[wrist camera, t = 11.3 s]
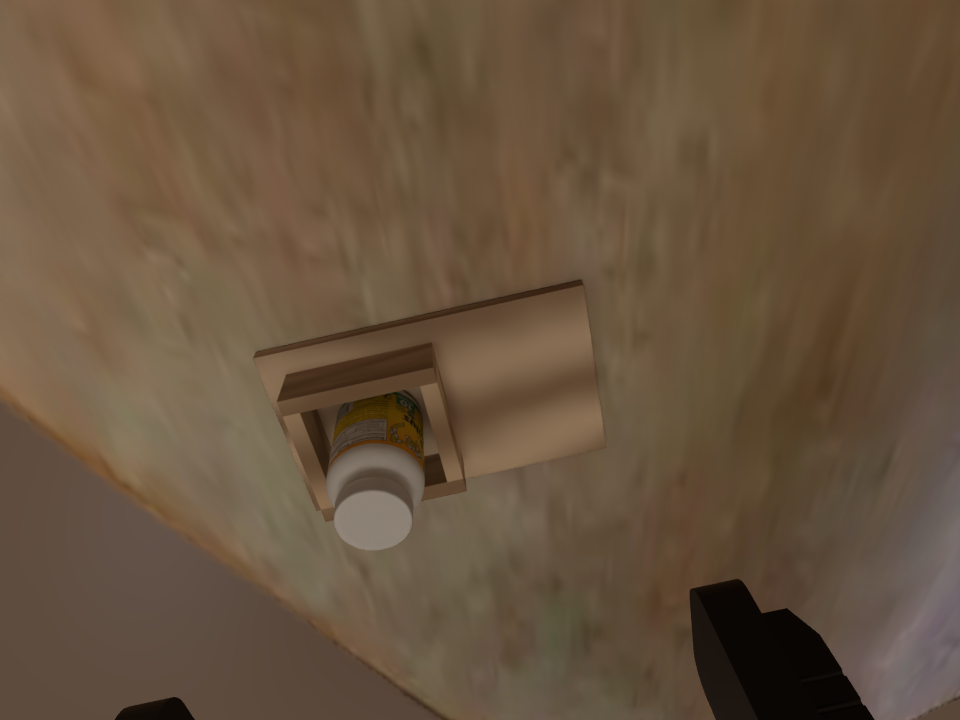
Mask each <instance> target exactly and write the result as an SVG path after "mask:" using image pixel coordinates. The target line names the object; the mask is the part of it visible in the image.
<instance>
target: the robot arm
mask: <svg viewBox="0 0 960 720" xmlns="http://www.w3.org/2000/svg"><path fill="white" fill-rule="evenodd" d="M690 608H691V622H692V635H693V649H694V657H695V662H696V666H697V670H698V674H699V677H700V681H701V684H702V687H703V689H704V692H705V695H706V697H707V700H708V702H709V704H710V707H711V709H712V712H713V714H714V716H715V719H716V720H874V718H873V717H872V715H871V714H870V712H869V710H868V709H867V707H866V706H865V705H863V704H862V702H861V699H860V696H859V695H858V693H857V692H856V690H855V689H854V687H853V686H852V684H851V683H850V681H849V679H848V678H847V676H844V674H843V672H842V669H841V667H840V665H839V664H838V662H837V661H836V659H835V658H834V656H833V655H832V653H831V651H830V650H829V648H828V647H827V645H826V644H825V642H824V641H823V639H822V638H821V636H820V634H818V633H817V632H816V631H815V630H813V629H812V628H811V627H810V626H808V625H807V624H806V623H805V622H803V621H802V620H801V619H800V618H798V617H797V616H796V615H795V614H793V613H792V612H791V611H790V610H788V609H787V608H786V609H781V610H776V611H772V612H767V613H761V611H760V610H759V608H758V606H757V604H756V603H755V601H754V599H753V597H752V596H751V594H750V592H749V590H748V589H747V587H746V586H745V584H744V583H743V582H742V581H741V580H740V579H734V580H730V581H725V582H720V583H716V584H711V585H706V586H702V587H697V588H692V589H690ZM115 720H195V719H194V718H193V717H192V715H191V714H190V712H189V710H188V709H187V707H186V706H185V704H184V703H183V702H182V700H180V699H179V698H177V697H172V698H167V699H163V700H158V701H153V702H148V703H144V704H139V705H134V706H130V707H127V708H124V709H123V710H122V711H121V712H120V713H119V714H118V715H117V717H116V719H115Z"/></svg>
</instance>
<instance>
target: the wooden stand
mask: <svg viewBox="0 0 960 720" xmlns="http://www.w3.org/2000/svg"><path fill="white" fill-rule="evenodd" d="M253 360H254V362H255V364H256V367H257V369H258V372H259V374H260V376H261V379H262V381H263V384H264V386H265V388H266V391H267V393H268V396H269V398H270V400H271V403H272V405H273V408H274V410H275V412H276V415H277V417H278V420H279V422H280V424H281V427H282V429H283V432H284V434H285V436H286V439H287V441H288V444H289V446H290V449H291V451H292V453H293V456H294V458H295V461H296V463H297V465H298V468H299V470H300V473H301V475H302V477H303V480H304V482H305V485H306V487H307V489H308V492H309V494H310V497H311V499H312V501H313V504H314V506H315V509H316V511H319V510H321V511H322V514H323V516H324V519H325V521H326V522H327V521H332V520H334V511H335V508H334V507H333V506H332V504H331V502H330V500H329V498H328V495H327V491H326V478H327V471H328V465H329V460H330V454H331V449H332V443H333V437H334V431H335V425H336V420H337V415H338V412H339V409H340V407H341V405H342V404H343V403H347V402H352V401H356V400H361V399H365V398H370V397H374V396H379V395H383V394H388V393H393V392H397V391H403V392H405V393H406V394H408V395H409V396H410V397H412V398H413V399H414V400H415V401H416V403H417V404H418V406H419V408H420V410H421V413H422V417H423V438H424V444H423V446H424V468H425V488H424V493H423V497H422V499H421V501H424V500H429V499H433V498H438V497H442V496H447V495H452V494H456V493H461V492H465V491H467V490H466V481H465V479H466V478H470V477H475V476H480V475H484V474H489V473H493V472H498V471H503V470H507V469H512V468H516V467H521V466H526V465H530V464H535V463H539V462H544V461H549V460H553V459H558V458H562V457H567V456H572V455H576V454H581V453H585V452H590V451H594V450H599V449H604V448H606V443H605V436H604V428H603V421H602V414H601V407H600V399H599V392H598V385H597V378H596V370H595V363H594V356H593V349H592V341H591V334H590V327H589V320H588V312H587V305H586V298H585V291H584V285H583V283H582V281H581V280H579V281H574V282H570V283H565V284H561V285H556V286H552V287H547V288H543V289H538V290H534V291H529V292H525V293H520V294H516V295H511V296H507V297H502V298H498V299H493V300H489V301H484V302H480V303H475V304H471V305H466V306H462V307H457V308H453V309H448V310H444V311H439V312H435V313H430V314H426V315H421V316H417V317H412V318H408V319H403V320H399V321H394V322H390V323H385V324H381V325H376V326H372V327H367V328H363V329H358V330H354V331H349V332H345V333H340V334H336V335H331V336H327V337H323V338H318V339H314V340H309V341H305V342H300V343H296V344H291V345H287V346H282V347H278V348H273V349H269V350H264V351H260V352H256V353H255V355H254V357H253Z"/></svg>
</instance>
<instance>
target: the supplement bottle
mask: <svg viewBox="0 0 960 720" xmlns="http://www.w3.org/2000/svg"><path fill="white" fill-rule="evenodd" d="M423 444H424V438H423V417H422V413H421V410H420V408H419V406H418V404H417V403H416V401H415V400H414V399H413V398H412V397H410V396H409V395H408V394H406V393H405V392H403V391H397V392H393V393H388V394H383V395H379V396H374V397H370V398H365V399H361V400H356V401H352V402H347V403H343V404H342V405H341V407H340V409H339V412H338V415H337V420H336V425H335V431H334V437H333V443H332V449H331V454H330V460H329V465H328V471H327V478H326V491H327V495H328V498H329V500H330V502H331V504H332V506H333V507H334V508H335V511H334V526H335V529H336V531H337V533H338V535H339V536H340V537H341V538H342V539H343V540H344V541H345V542H347V543H348V544H350V545H352V546H354V547H357V548H359V549H364V550H382V549H386V548H390V547H392V546H394V545H396V544H398V543H400V542H401V541H402V540H403V539H404V538H405V537H406V536H407V535H408V533H409V531H410V530H411V527H412V522H413V511H414V510H415V509H416V508H417V506H418V505H419V503H420V501H421V499H422V497H423V493H424V488H425V468H424V446H423Z"/></svg>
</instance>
